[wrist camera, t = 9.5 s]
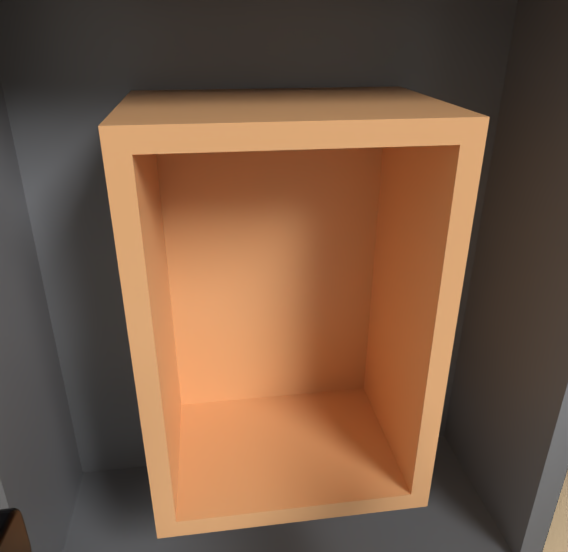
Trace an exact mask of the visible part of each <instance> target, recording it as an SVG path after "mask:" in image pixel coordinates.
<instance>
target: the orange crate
mask: <svg viewBox="0 0 568 552" xmlns="http://www.w3.org/2000/svg"><path fill="white" fill-rule="evenodd" d="M489 118H490V117H489V116H486V115H483V114H480V113H477V112H474V111H471V110H468V109H465V108H462V107H459V106H456V105H453V104H450V103H447V102H444V101H441V100H438V99H435V98H432V97H430V96H427V95H424V94H421V93H418V92H415V91H412V90H409V89H406V88H403V87H400V86H396V87H330V88H265V89H200V90H134V91H130V92H129V93H128V94H127V95H126V97H125V98H124V99H123V100H122V101H121V102H120V103H119V104H118V105H117V106H116V107H115V108H114V109H113V111H112V112H111V113H110V114H109V115H108V116H107V117H106V118H105V119H104V120H103V121H102V122H101V123H100V124H99V126H98V129H99V135H100V142H101V149H102V156H103V163H104V170H105V177H106V184H107V191H108V198H109V205H110V212H111V219H112V226H113V233H114V240H115V247H116V254H117V261H118V268H119V275H120V282H121V289H122V296H123V303H124V310H125V317H126V324H127V331H128V338H129V345H130V352H131V359H132V366H133V373H134V380H135V387H136V394H137V401H138V408H139V415H140V422H141V429H142V436H143V443H144V450H145V457H146V463H147V470H148V477H149V484H150V491H151V498H152V505H153V512H154V519H155V526H156V533H157V539H159V538H167V537H175V536H184V535H192V534H200V533H209V532H217V531H225V530H234V529H242V528H250V527H259V526H267V525H275V524H284V523H292V522H300V521H309V520H317V519H326V518H334V517H342V516H351V515H359V514H367V513H376V512H384V511H392V510H401V509H409V508H417V507H426V506H428V499H429V493H430V487H431V481H432V474H433V468H434V462H435V456H436V449H437V443H438V437H439V431H440V424H441V418H442V412H443V406H444V399H445V393H446V387H447V381H448V375H449V368H450V362H451V356H452V350H453V343H454V337H455V331H456V325H457V318H458V312H459V306H460V300H461V293H462V287H463V281H464V275H465V268H466V262H467V256H468V250H469V243H470V237H471V231H472V225H473V218H474V212H475V206H476V200H477V193H478V187H479V181H480V175H481V168H482V162H483V156H484V150H485V143H486V137H487V131H488V125H489Z"/></svg>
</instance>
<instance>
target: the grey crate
mask: <svg viewBox="0 0 568 552" xmlns="http://www.w3.org/2000/svg"><path fill="white" fill-rule="evenodd" d="M396 86H400V87H403V88H406V89H409V90H412V91H415V92H418V93H421V94H424V95H427V96H430V97H432V98H435V99H438V100H441V101H444V102H447V103H450V104H453V105H456V106H459V107H462V108H465V109H468V110H471V111H474V112H477V113H480V114H483V115H486V116H489V117H490V118H489V125H488V131H487V137H486V143H485V150H484V156H483V162H482V168H481V175H480V181H479V187H478V193H477V200H476V206H475V212H474V218H473V225H472V231H471V237H470V243H469V250H468V256H467V262H466V268H465V275H464V281H463V287H462V293H461V300H460V306H459V312H458V318H457V325H456V331H455V337H454V343H453V350H452V356H451V362H450V368H449V375H448V381H447V387H446V393H445V399H444V406H443V412H442V418H441V424H440V431H439V437H438V443H437V449H436V456H435V462H434V468H433V474H432V481H431V487H430V493H429V499H428V506H426V507H417V508H409V509H401V510H392V511H384V512H376V513H367V514H359V515H351V516H342V517H334V518H326V519H317V520H309V521H300V522H292V523H284V524H275V525H267V526H259V527H250V528H242V529H234V530H225V531H217V532H209V533H200V534H192V535H184V536H175V537H167V538H159V539H157V533H156V526H155V519H154V512H153V505H152V498H151V491H150V484H149V477H148V470H147V463H146V457H145V450H144V443H143V436H142V429H141V422H140V415H139V408H138V401H137V394H136V387H135V380H134V373H133V366H132V359H131V352H130V345H129V338H128V331H127V324H126V317H125V310H124V303H123V296H122V289H121V282H120V275H119V268H118V261H117V254H116V247H115V240H114V233H113V226H112V219H111V212H110V205H109V198H108V191H107V184H106V177H105V170H104V163H103V156H102V149H101V142H100V135H99V129H98V126H99V124H100V123H101V122H102V121H103V120H104V119H105V118H106V117H107V116H108V115H109V114H110V113H111V112H112V111H113V109H114V108H115V107H116V106H117V105H118V104H119V103H120V102H121V101H122V100H123V99H124V98H125V97H126V95H127V94H128V93H129V92H130V91H134V90H200V89H265V88H330V87H396ZM567 470H568V0H0V509H7V508H17V509H19V510H20V511H21V513H22V516H23V519H24V523H25V526H26V530H27V533H28V537H29V540H30V544H31V550H32V552H542V551H543V548H544V545H545V541H546V538H547V535H548V532H549V528H550V525H551V522H552V519H553V515H554V512H555V509H556V505H557V502H558V499H559V496H560V492H561V489H562V486H563V483H564V479H565V476H566V473H567Z"/></svg>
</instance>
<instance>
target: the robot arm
mask: <svg viewBox="0 0 568 552" xmlns="http://www.w3.org/2000/svg"><path fill="white" fill-rule="evenodd" d="M0 552H32V550H31V544H30V540H29V537H28V533H27V530H26V526H25V523H24V519H23V516H22V513H21V511H20V510H19V509H17V508H7V509H0Z"/></svg>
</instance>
